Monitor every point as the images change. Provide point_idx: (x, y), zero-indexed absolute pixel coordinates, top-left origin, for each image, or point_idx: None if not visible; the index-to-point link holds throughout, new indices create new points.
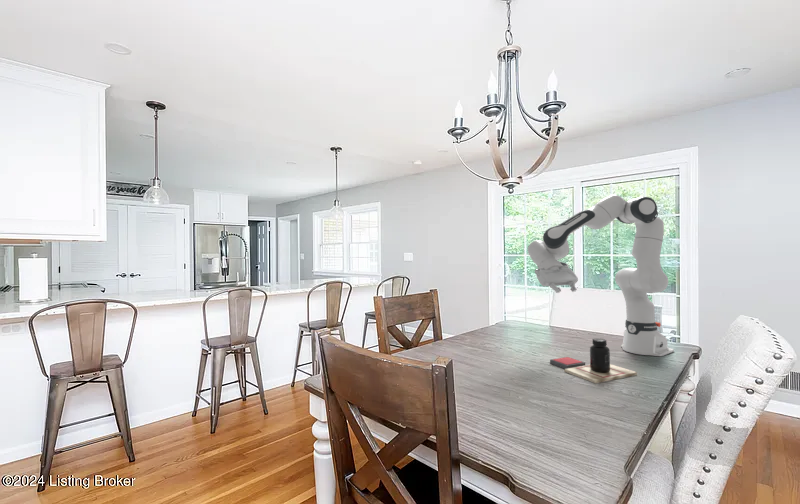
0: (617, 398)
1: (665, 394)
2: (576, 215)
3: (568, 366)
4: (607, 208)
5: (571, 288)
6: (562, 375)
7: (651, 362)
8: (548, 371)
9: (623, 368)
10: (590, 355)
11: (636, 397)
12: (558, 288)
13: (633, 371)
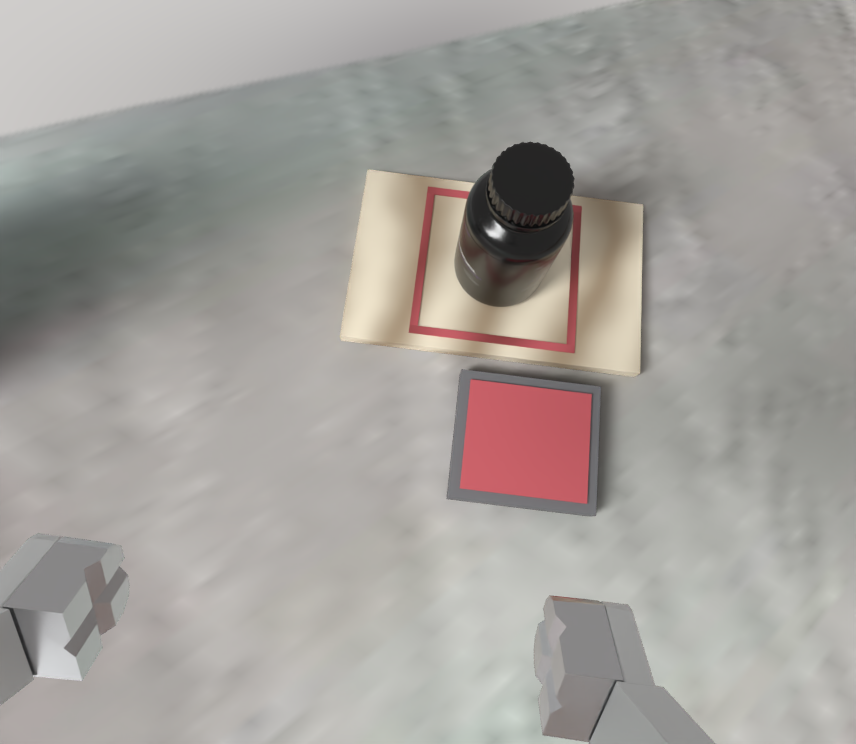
0: (701, 93)
1: (506, 30)
2: None
3: (589, 386)
4: None
5: (77, 643)
6: (689, 347)
7: (84, 232)
8: (708, 422)
9: (364, 227)
10: (554, 260)
11: (630, 66)
12: (608, 644)
13: (370, 182)
